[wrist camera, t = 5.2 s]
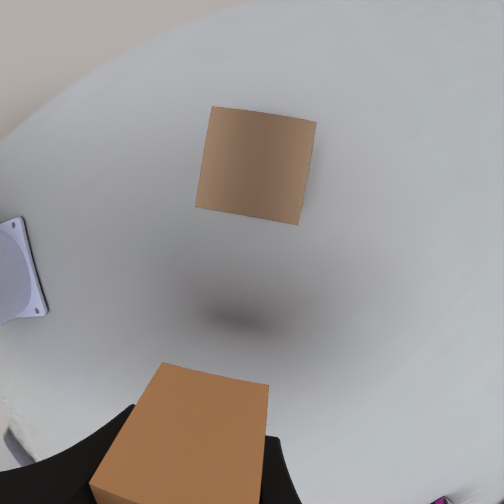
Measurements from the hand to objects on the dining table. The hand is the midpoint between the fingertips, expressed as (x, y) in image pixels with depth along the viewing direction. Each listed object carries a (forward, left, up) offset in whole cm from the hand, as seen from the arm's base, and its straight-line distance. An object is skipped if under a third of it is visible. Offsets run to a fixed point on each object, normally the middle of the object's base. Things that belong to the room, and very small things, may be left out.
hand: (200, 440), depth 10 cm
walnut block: (+3, +9, -10) cm, 14 cm away
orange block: (0, 0, -2) cm, 2 cm away
